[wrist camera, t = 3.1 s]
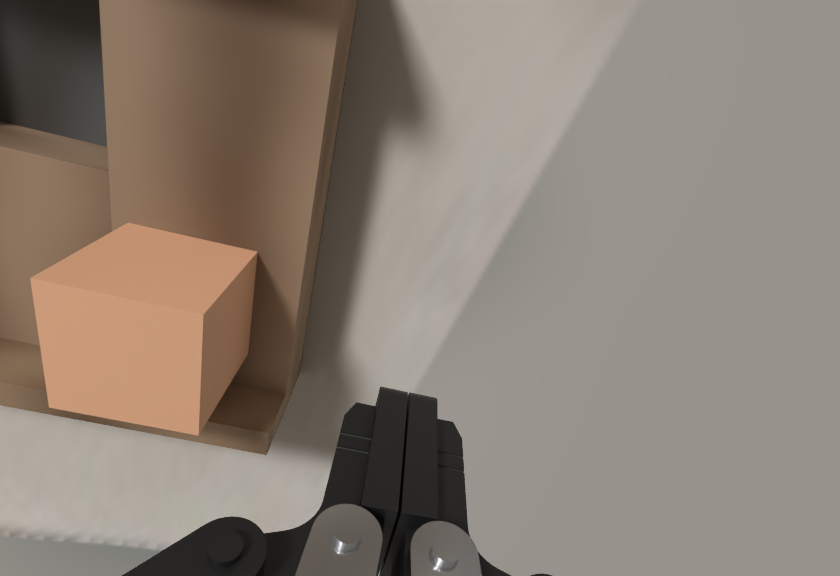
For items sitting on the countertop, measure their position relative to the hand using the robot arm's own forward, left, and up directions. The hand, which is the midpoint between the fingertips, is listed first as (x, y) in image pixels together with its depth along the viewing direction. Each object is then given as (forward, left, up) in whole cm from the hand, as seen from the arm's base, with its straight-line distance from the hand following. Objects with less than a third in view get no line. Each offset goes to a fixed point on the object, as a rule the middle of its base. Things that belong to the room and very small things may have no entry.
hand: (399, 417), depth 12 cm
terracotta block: (-7, 0, -4) cm, 8 cm away
